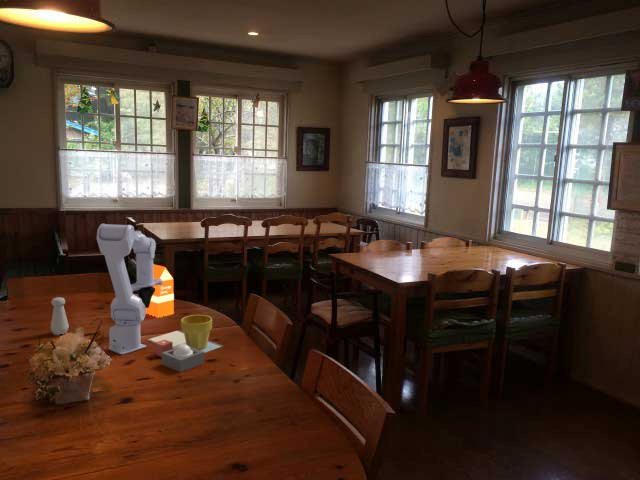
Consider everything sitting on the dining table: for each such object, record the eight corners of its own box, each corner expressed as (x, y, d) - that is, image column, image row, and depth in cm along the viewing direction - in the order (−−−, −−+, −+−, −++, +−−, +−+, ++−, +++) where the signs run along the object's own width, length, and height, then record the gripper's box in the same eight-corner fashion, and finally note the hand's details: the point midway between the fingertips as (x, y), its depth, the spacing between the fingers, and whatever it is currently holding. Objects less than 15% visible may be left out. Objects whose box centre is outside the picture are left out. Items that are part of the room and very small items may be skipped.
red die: (162, 357, 172) (162, 345, 171) (154, 354, 174) (154, 342, 173) (172, 353, 175) (172, 342, 174) (164, 350, 177) (164, 339, 177)
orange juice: (158, 318, 211) (157, 268, 208) (144, 313, 216) (143, 265, 213) (174, 313, 217) (173, 265, 214) (160, 309, 222) (160, 262, 219)
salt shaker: (72, 331, 193) (70, 296, 191) (63, 336, 187) (61, 300, 185) (56, 330, 193) (55, 295, 191) (47, 335, 188) (45, 299, 185)
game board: (191, 357, 172) (191, 357, 172) (146, 340, 186) (146, 339, 186) (223, 346, 184) (223, 345, 184) (178, 330, 198) (178, 330, 198)
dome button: (181, 364, 163) (181, 349, 162) (169, 359, 166) (169, 345, 166) (197, 359, 168) (196, 344, 167) (184, 354, 171) (184, 340, 170)
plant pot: (175, 350, 178) (175, 322, 176) (189, 339, 188) (189, 313, 186) (204, 353, 176) (204, 325, 174) (217, 343, 186) (217, 316, 184)
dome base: (180, 372, 161) (180, 360, 160) (161, 364, 166) (161, 352, 166) (204, 363, 168) (204, 351, 168) (185, 355, 174) (185, 344, 173)
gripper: (135, 275, 183) (136, 314, 185) (168, 268, 195) (168, 304, 197) (122, 272, 186) (123, 310, 188) (155, 266, 198) (155, 301, 201)
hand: (145, 307), depth 193 cm, fingers closed
